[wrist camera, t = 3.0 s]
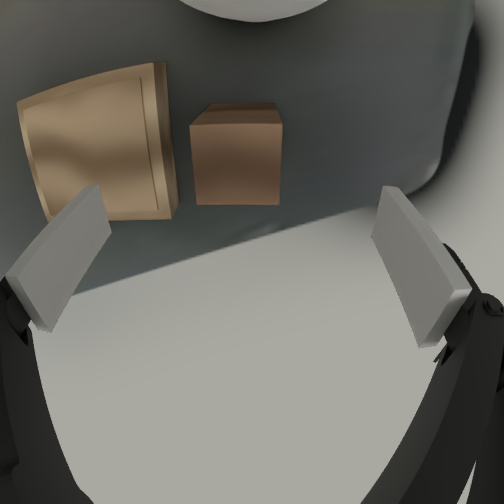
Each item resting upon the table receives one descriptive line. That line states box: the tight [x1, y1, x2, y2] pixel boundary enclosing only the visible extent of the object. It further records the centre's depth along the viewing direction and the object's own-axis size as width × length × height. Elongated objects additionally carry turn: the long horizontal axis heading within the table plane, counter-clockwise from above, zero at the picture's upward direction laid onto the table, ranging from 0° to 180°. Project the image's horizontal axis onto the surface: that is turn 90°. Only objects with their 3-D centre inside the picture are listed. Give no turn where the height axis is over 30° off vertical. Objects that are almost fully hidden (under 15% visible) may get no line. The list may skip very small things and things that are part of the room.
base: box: [16, 61, 180, 223], centre depth 21 cm, size 13×14×3 cm
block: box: [189, 103, 283, 205], centre depth 19 cm, size 5×5×8 cm
